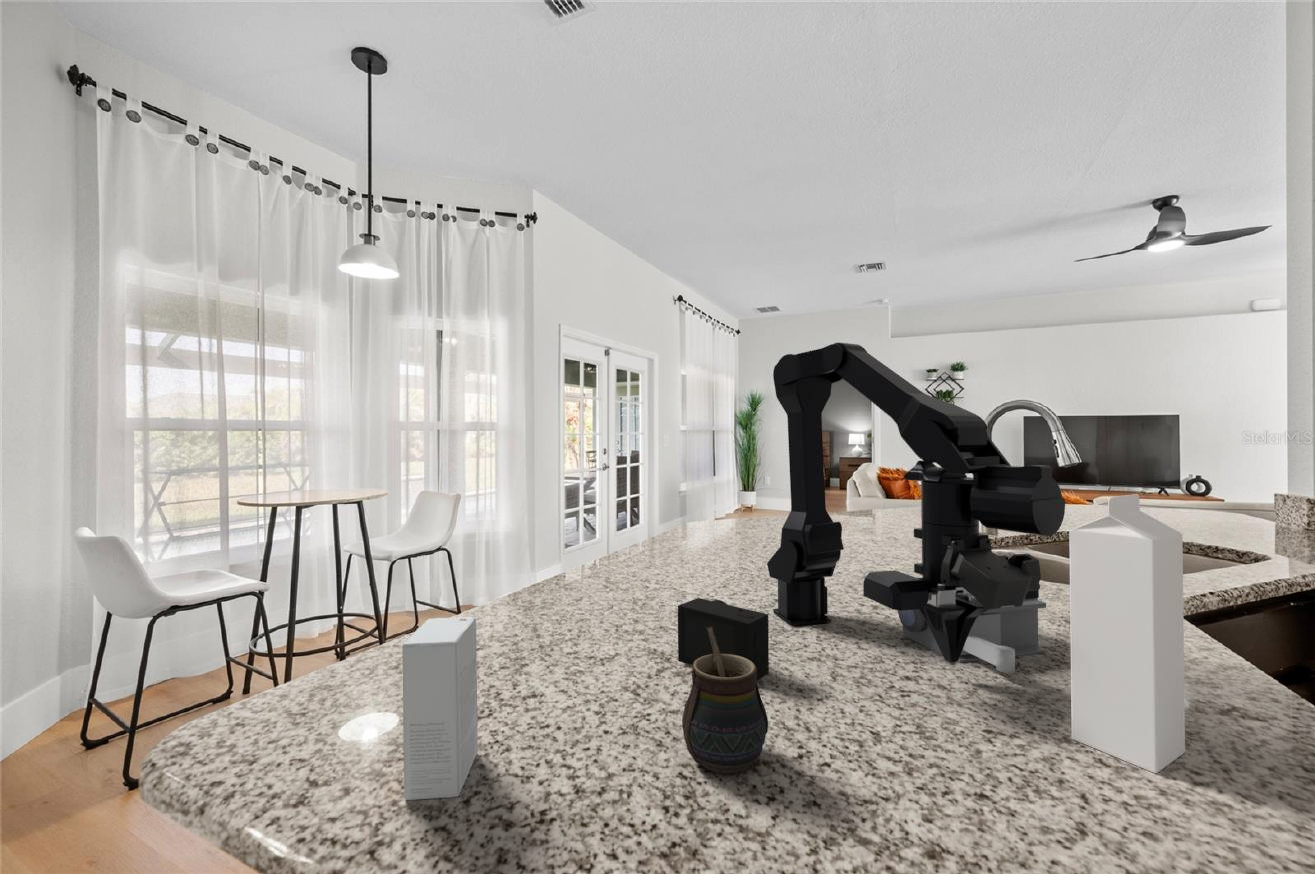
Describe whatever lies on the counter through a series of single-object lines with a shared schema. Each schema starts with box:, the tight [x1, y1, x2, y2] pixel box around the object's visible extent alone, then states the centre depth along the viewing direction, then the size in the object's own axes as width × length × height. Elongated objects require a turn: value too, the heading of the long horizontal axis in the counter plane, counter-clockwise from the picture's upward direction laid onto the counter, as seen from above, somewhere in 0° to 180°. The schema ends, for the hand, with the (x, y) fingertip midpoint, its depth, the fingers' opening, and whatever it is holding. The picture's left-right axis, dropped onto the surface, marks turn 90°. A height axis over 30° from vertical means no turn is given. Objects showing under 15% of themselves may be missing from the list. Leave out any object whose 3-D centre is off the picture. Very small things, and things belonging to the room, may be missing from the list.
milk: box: [1068, 493, 1186, 774], centre depth 47 cm, size 6×6×22 cm
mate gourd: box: [681, 627, 769, 775], centre depth 46 cm, size 7×8×10 cm
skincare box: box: [401, 616, 479, 801], centre depth 44 cm, size 6×4×12 cm
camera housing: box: [897, 584, 1047, 663], centre depth 71 cm, size 16×10×7 cm, turn 103°
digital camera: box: [677, 597, 770, 682], centre depth 65 cm, size 10×5×7 cm, turn 48°
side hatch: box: [961, 612, 1016, 674], centre depth 64 cm, size 6×7×5 cm
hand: (951, 661), depth 61 cm, fingers closed
